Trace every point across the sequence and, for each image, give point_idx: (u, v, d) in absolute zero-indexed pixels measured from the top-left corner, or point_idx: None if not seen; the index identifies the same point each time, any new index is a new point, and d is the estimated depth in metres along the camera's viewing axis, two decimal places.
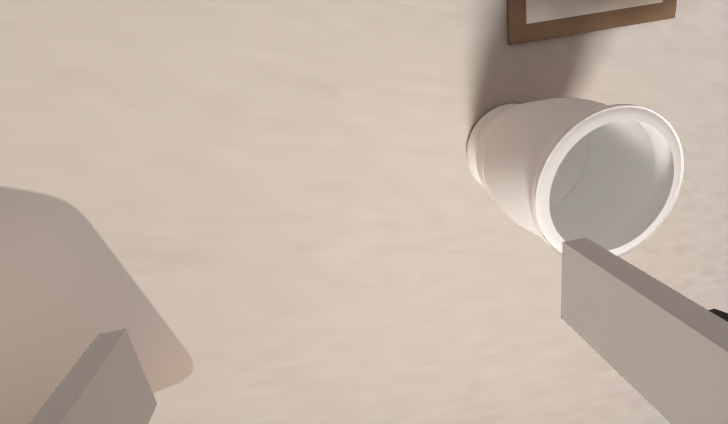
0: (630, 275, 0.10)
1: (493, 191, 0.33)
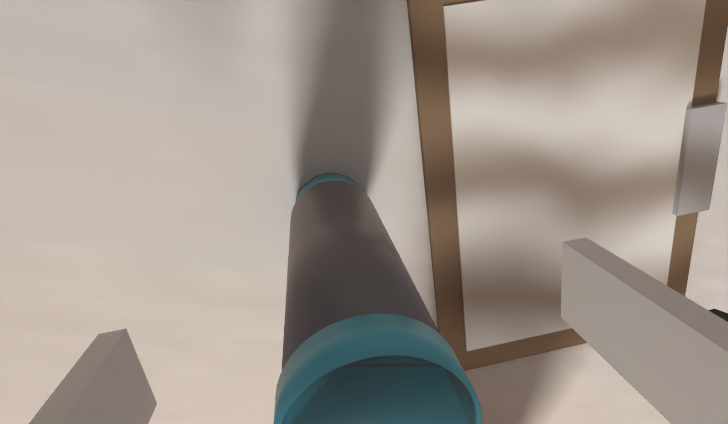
0: (630, 275, 0.10)
1: None
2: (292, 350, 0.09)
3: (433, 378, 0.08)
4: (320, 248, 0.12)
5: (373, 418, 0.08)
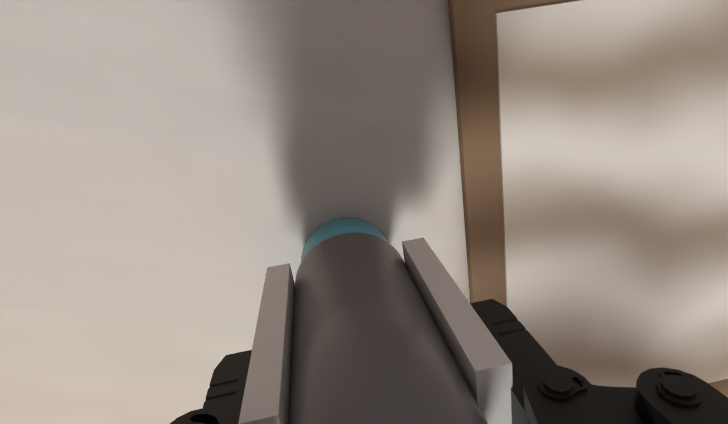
0: (431, 270, 0.12)
1: None
2: None
3: None
4: (343, 382, 0.08)
5: None
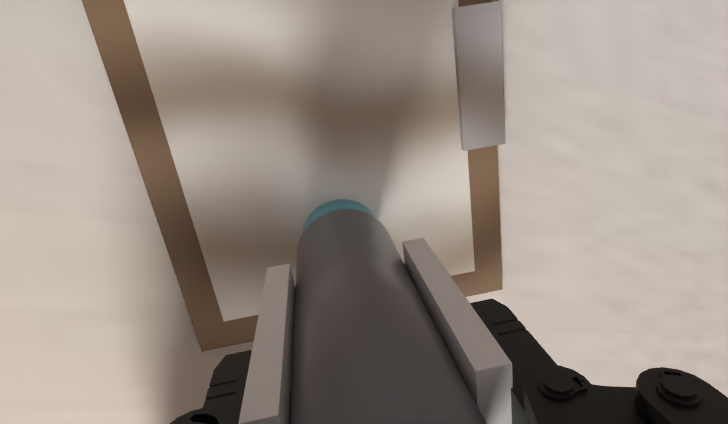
0: (431, 270, 0.12)
1: None
2: None
3: None
4: (333, 306, 0.10)
5: None
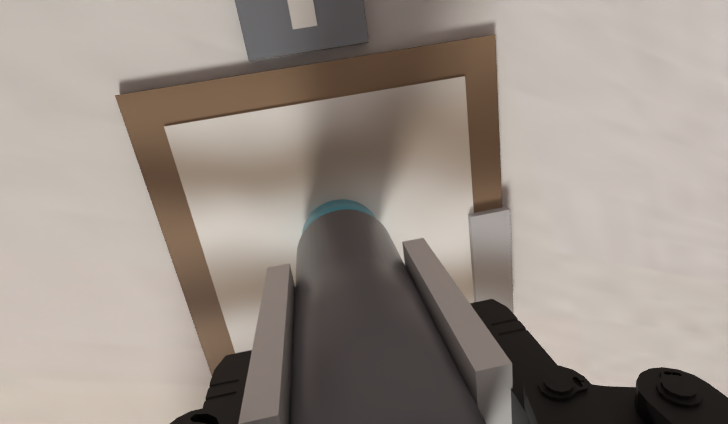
0: (431, 270, 0.12)
1: None
2: None
3: None
4: (333, 306, 0.10)
5: None
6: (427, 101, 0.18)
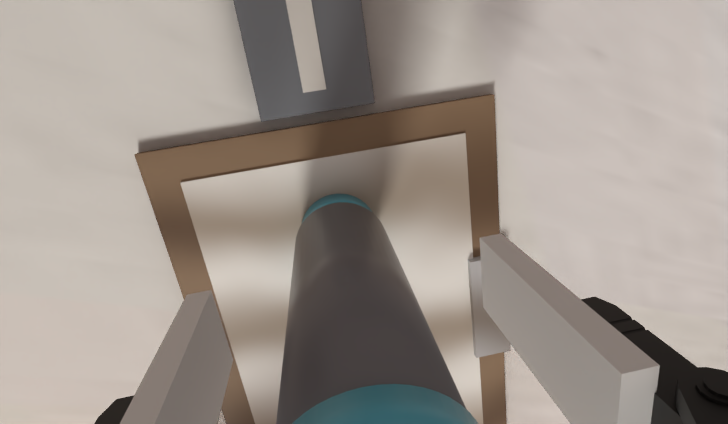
0: (525, 267, 0.11)
1: None
2: (286, 423, 0.08)
3: None
4: (323, 288, 0.11)
5: None
6: (430, 156, 0.19)
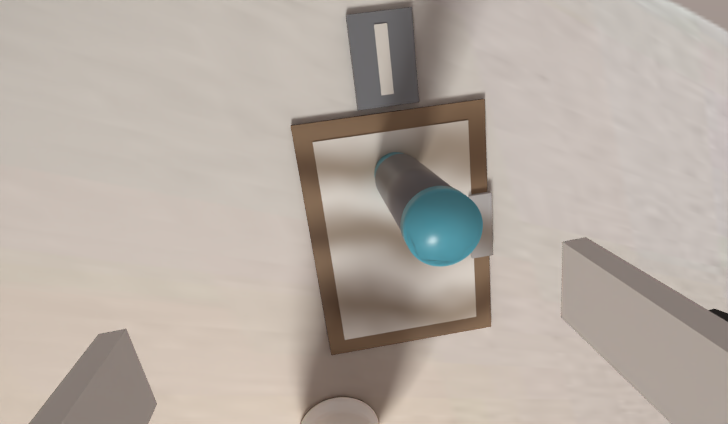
0: (630, 275, 0.10)
1: None
2: (407, 202, 0.23)
3: (465, 205, 0.21)
4: (408, 175, 0.26)
5: (442, 220, 0.22)
6: (447, 132, 0.35)
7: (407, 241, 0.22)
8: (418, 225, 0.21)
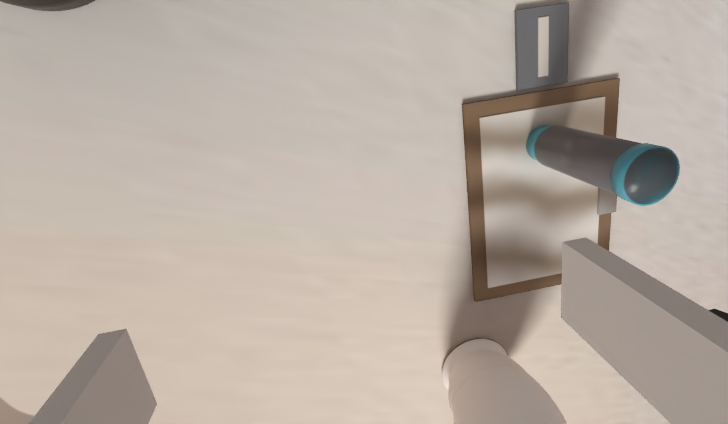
0: (630, 275, 0.10)
1: None
2: (616, 157, 0.29)
3: (669, 156, 0.28)
4: (594, 139, 0.33)
5: (651, 169, 0.28)
6: (587, 107, 0.41)
7: (623, 186, 0.29)
8: (633, 173, 0.28)
